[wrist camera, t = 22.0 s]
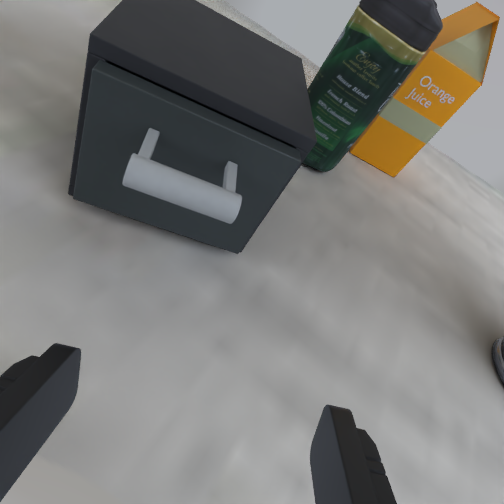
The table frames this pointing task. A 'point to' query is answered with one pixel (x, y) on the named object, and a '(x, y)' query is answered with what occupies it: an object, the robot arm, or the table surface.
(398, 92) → the orange juice
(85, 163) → the grey drawer unit
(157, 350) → the table surface
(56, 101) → the table surface
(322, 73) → the coffee jar
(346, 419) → the robot arm
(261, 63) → the dark grey square box
